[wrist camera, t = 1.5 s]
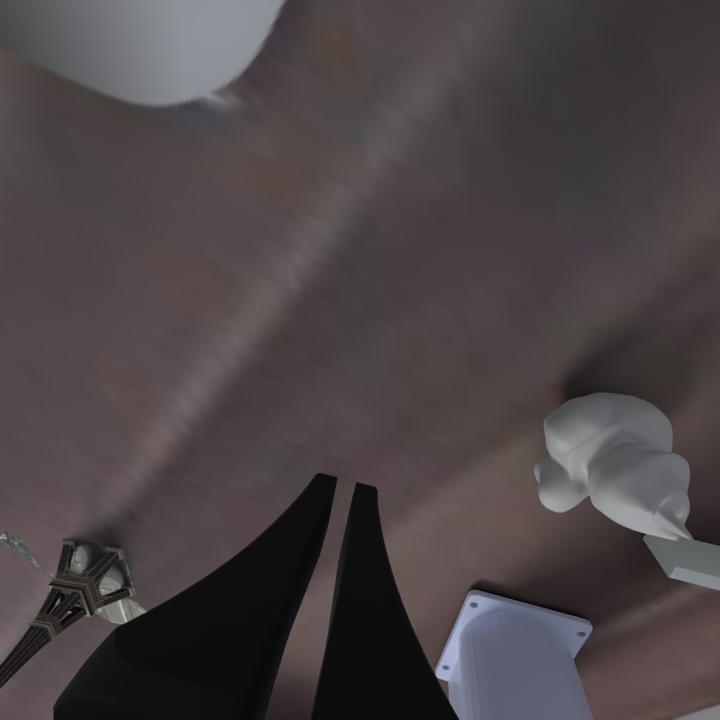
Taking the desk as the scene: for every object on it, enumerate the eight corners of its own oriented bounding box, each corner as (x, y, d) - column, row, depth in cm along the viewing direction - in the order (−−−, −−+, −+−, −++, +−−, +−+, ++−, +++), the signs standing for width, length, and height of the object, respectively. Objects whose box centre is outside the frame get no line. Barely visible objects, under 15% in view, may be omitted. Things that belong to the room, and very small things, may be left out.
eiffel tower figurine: (2, 532, 32) (-261, 732, 20) (53, 472, 28) (-231, 672, 16) (139, 636, 34) (-18, 872, 22) (203, 594, 31) (57, 848, 19)
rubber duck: (669, 425, 19) (821, 558, 12) (557, 492, 22) (626, 637, 14) (601, 353, 18) (719, 448, 11) (493, 431, 21) (531, 550, 14)
